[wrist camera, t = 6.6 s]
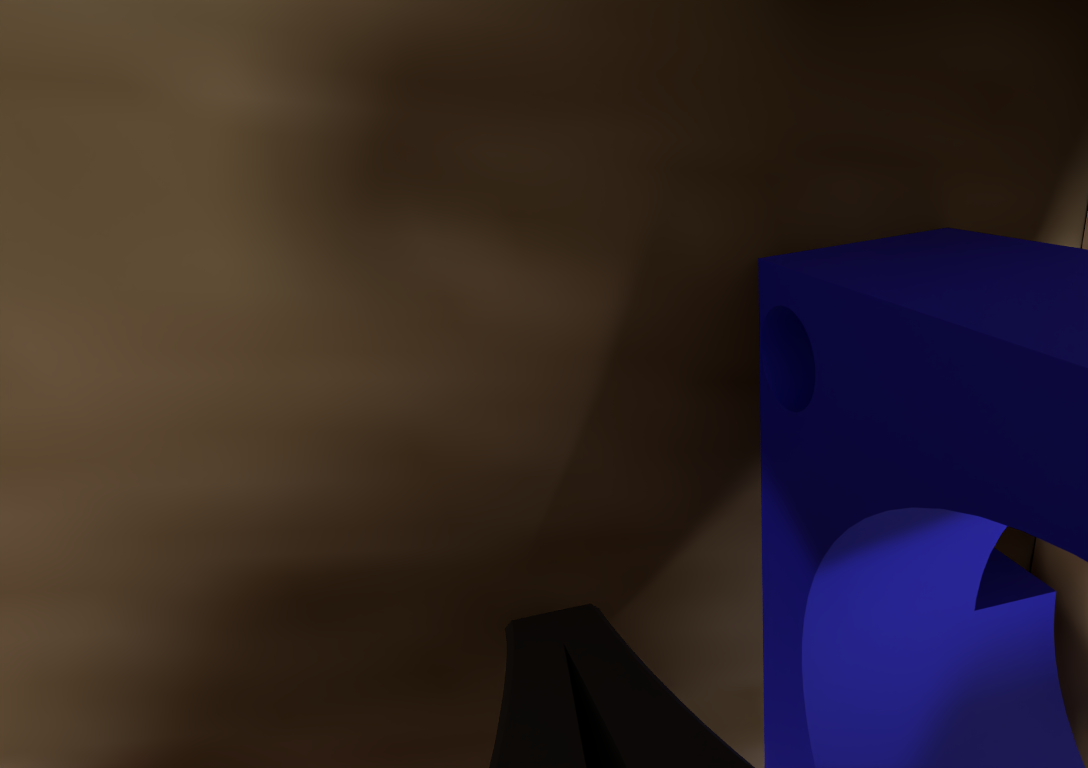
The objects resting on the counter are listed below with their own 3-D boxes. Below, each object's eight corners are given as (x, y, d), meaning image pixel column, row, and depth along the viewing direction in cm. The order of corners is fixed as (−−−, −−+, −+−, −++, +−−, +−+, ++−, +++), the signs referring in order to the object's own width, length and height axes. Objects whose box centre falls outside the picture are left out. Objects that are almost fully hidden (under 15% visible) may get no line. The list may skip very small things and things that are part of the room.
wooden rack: (1047, 823, 15) (1160, 943, 13) (768, 903, 15) (835, 1047, 12) (1253, -215, 9) (1553, -343, 7) (763, -179, 8) (907, -313, 6)
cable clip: (957, 778, 15) (1286, 1162, 9) (761, 831, 14) (985, 1276, 9) (1025, 212, 11) (1707, 287, 5) (751, 256, 10) (1176, 397, 4)
